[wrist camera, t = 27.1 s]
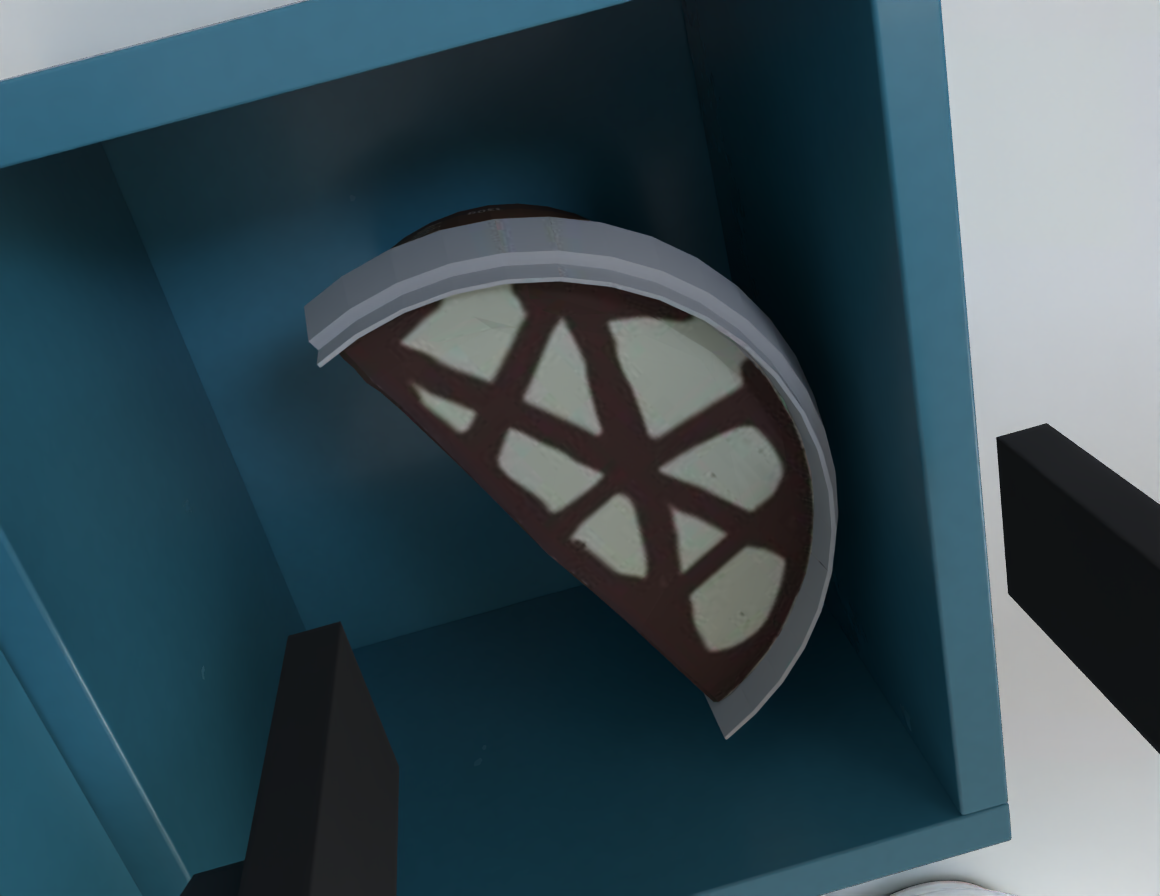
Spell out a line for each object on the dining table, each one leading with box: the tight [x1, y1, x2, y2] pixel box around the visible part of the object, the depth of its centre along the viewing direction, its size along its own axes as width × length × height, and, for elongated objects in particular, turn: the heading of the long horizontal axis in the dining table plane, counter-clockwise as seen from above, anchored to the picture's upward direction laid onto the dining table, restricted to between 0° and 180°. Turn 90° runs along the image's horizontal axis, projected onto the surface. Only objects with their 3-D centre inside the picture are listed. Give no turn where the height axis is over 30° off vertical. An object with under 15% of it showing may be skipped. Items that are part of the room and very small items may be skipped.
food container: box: [304, 203, 838, 740], centre depth 24 cm, size 12×6×10 cm, turn 41°
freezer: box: [0, 0, 1012, 896], centre depth 23 cm, size 16×18×13 cm
